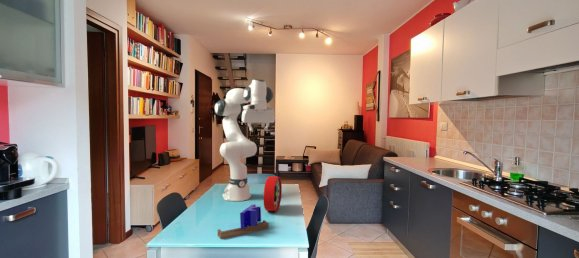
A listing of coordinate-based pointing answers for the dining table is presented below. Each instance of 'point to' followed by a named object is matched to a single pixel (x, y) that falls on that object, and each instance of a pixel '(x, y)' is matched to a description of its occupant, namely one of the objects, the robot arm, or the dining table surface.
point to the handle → (242, 230)
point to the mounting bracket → (250, 216)
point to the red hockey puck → (272, 193)
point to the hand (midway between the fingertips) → (258, 130)
